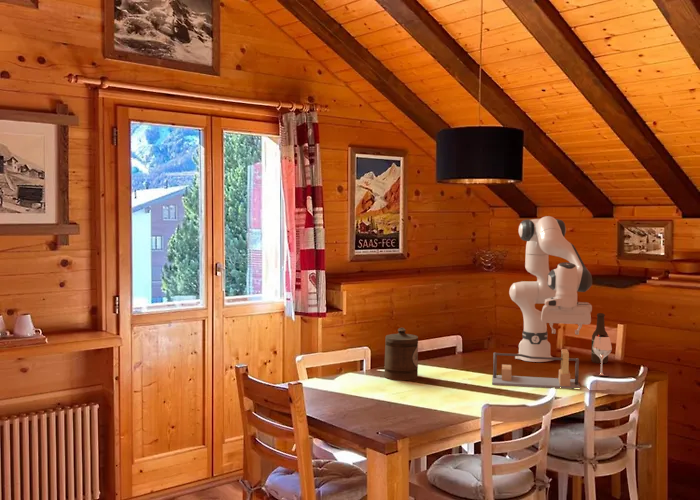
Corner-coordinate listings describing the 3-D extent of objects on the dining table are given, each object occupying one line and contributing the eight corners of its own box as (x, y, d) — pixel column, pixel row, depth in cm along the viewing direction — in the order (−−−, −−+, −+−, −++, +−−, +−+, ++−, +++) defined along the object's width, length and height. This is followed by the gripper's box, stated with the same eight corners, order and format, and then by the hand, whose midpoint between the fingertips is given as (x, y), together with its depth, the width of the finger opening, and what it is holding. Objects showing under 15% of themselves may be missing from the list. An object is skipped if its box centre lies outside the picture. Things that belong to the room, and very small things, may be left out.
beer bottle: (587, 361, 350) (588, 312, 349) (599, 359, 353) (601, 312, 352) (599, 364, 343) (600, 315, 342) (611, 363, 346) (612, 314, 345)
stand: (492, 377, 317) (493, 350, 316) (576, 381, 309) (577, 354, 309) (492, 384, 303) (492, 357, 302) (580, 389, 296) (580, 361, 295)
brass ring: (560, 369, 306) (561, 348, 305) (566, 369, 305) (567, 349, 305) (562, 373, 298) (562, 352, 297) (568, 374, 297) (568, 352, 297)
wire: (495, 354, 312) (495, 352, 312) (576, 358, 305) (576, 356, 304) (495, 357, 307) (495, 355, 307) (577, 360, 300) (577, 359, 300)
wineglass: (590, 376, 319) (591, 336, 318) (593, 372, 326) (594, 333, 325) (609, 378, 315) (610, 338, 314) (612, 374, 322) (613, 335, 321)
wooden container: (422, 379, 312) (423, 329, 311) (391, 381, 308) (391, 331, 307) (410, 371, 326) (411, 324, 325) (380, 373, 322) (380, 325, 321)
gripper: (591, 301, 300) (590, 333, 302) (541, 299, 305) (540, 331, 306) (593, 303, 294) (592, 336, 295) (542, 301, 299) (541, 334, 300)
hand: (565, 333), depth 301 cm, fingers open, 8 cm apart
